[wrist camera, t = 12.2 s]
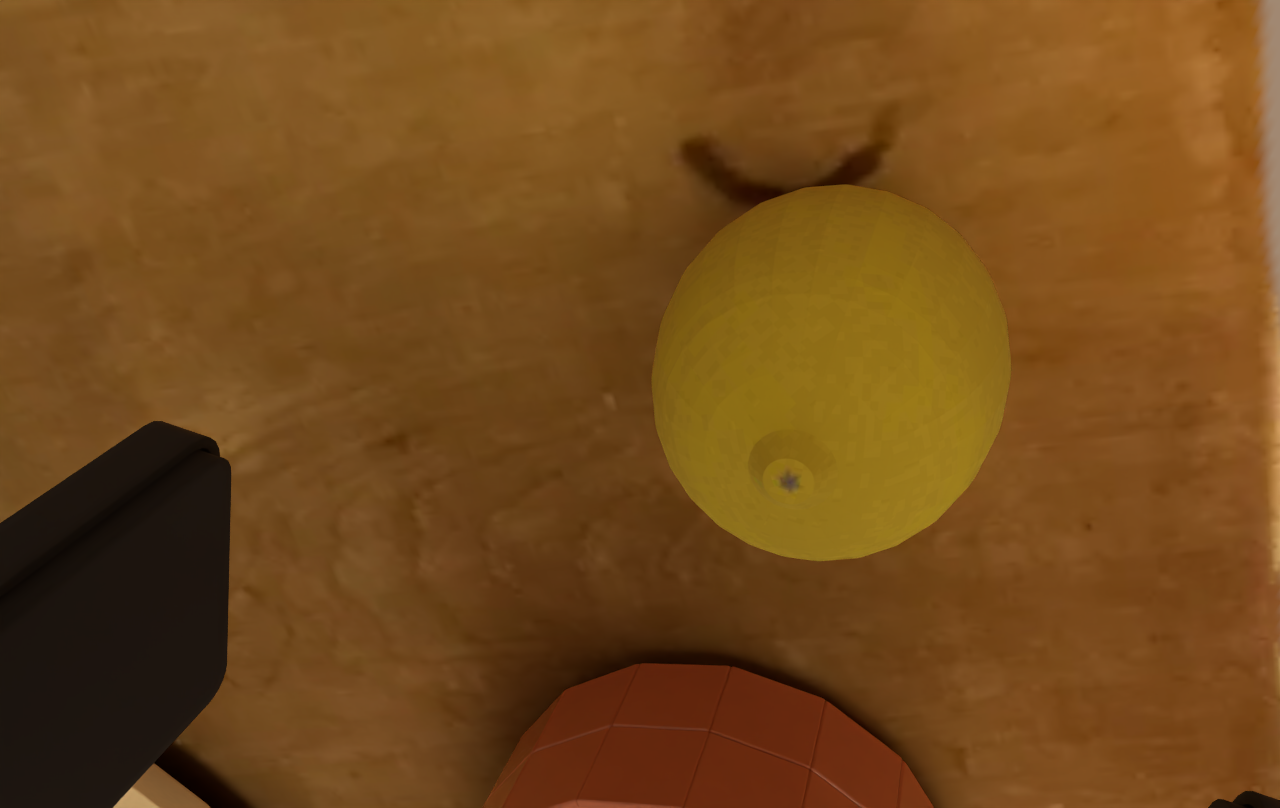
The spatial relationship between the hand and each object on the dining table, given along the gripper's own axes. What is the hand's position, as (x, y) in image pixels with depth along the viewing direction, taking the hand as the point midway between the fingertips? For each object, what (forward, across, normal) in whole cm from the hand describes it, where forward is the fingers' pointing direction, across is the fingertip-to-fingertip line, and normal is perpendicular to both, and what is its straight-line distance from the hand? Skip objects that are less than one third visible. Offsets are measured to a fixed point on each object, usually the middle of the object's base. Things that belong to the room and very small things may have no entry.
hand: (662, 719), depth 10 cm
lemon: (+13, -1, 0) cm, 13 cm away
